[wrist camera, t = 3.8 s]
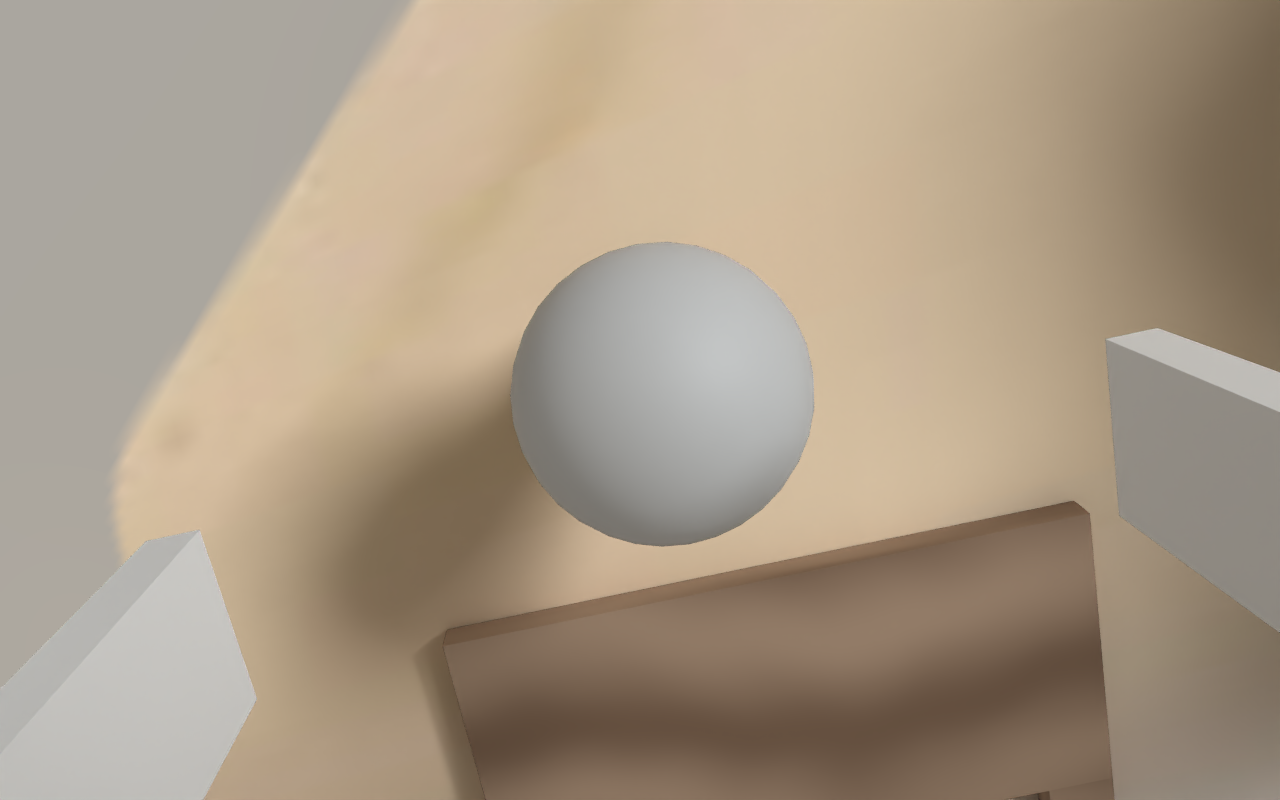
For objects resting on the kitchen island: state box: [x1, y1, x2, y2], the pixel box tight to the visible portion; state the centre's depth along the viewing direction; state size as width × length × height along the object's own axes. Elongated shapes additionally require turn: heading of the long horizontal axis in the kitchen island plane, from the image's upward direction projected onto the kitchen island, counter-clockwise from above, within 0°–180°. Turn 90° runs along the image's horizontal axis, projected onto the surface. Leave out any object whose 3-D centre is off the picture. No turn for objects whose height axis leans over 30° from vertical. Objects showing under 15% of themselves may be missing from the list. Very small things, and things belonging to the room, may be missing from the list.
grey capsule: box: [510, 242, 814, 546], centre depth 24 cm, size 6×6×11 cm
